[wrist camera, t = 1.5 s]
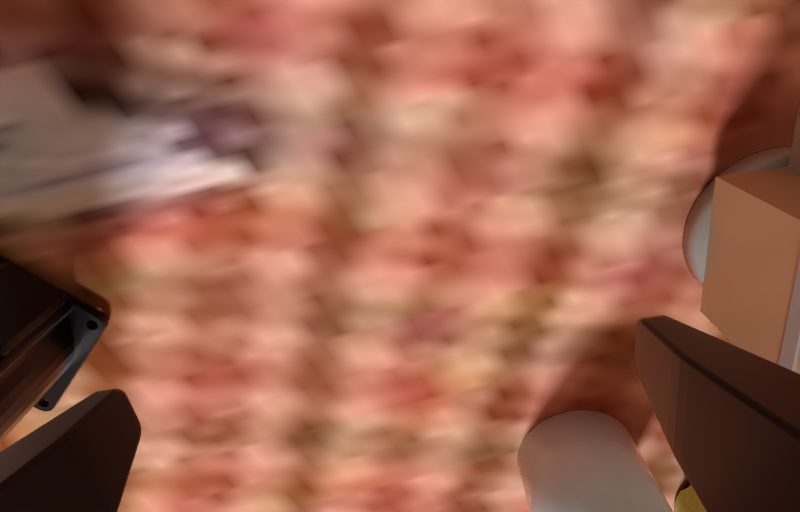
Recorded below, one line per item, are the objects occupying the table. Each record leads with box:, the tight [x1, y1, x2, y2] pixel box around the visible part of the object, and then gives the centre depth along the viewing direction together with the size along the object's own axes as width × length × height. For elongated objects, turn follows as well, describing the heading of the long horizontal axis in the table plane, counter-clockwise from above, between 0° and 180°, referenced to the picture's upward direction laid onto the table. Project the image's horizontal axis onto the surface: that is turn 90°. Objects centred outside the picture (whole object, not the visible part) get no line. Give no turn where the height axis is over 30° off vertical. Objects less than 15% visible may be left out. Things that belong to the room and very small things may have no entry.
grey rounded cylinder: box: [517, 410, 673, 512], centre depth 25 cm, size 6×6×6 cm
